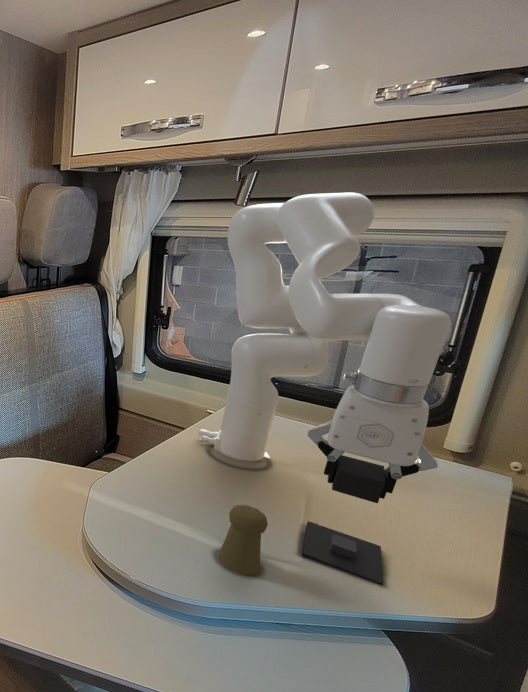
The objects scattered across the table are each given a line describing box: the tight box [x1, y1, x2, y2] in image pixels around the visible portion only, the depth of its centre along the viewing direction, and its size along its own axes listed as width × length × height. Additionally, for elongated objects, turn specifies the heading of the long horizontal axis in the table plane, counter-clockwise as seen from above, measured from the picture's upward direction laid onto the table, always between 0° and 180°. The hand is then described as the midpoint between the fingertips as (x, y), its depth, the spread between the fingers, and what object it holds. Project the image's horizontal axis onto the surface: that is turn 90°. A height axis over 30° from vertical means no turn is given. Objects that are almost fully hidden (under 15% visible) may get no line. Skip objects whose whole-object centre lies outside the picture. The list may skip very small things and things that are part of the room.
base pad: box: [301, 520, 383, 586], centre depth 78 cm, size 10×10×2 cm
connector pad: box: [331, 454, 385, 504], centre depth 74 cm, size 6×6×4 cm
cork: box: [217, 504, 269, 576], centre depth 76 cm, size 6×6×11 cm
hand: (355, 485), depth 75 cm, fingers closed on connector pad, 5 cm apart
